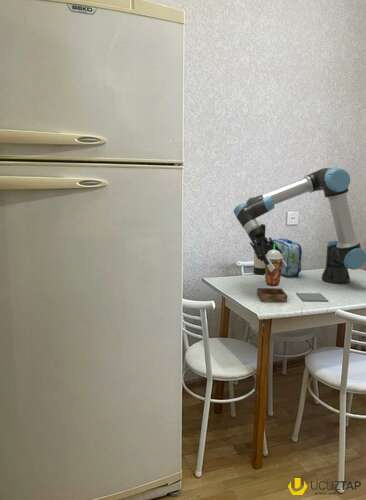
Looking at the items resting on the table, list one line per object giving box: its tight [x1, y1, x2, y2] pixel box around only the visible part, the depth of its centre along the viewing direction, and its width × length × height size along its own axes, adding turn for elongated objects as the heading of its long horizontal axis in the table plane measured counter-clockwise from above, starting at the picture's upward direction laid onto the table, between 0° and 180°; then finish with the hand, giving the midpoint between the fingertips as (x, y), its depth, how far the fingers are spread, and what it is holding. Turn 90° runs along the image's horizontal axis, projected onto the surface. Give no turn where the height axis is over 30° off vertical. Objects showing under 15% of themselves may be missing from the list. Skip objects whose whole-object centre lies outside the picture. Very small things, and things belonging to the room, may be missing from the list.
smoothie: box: [264, 244, 283, 288], centre depth 191 cm, size 8×8×20 cm
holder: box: [256, 287, 288, 303], centre depth 194 cm, size 12×12×4 cm
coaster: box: [295, 292, 329, 303], centre depth 196 cm, size 12×12×1 cm
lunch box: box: [272, 238, 303, 277], centre depth 244 cm, size 26×11×21 cm, turn 12°
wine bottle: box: [253, 223, 269, 276], centre depth 242 cm, size 8×8×30 cm
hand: (278, 268), depth 189 cm, fingers closed on smoothie, 8 cm apart
